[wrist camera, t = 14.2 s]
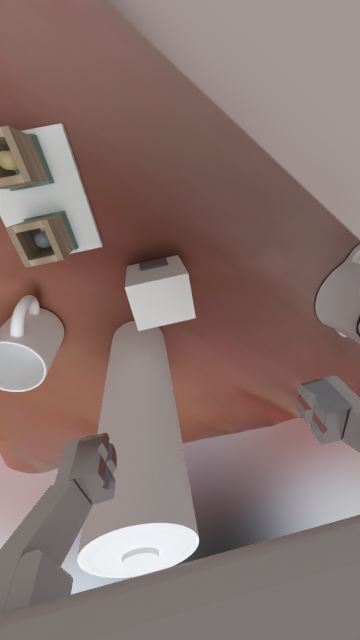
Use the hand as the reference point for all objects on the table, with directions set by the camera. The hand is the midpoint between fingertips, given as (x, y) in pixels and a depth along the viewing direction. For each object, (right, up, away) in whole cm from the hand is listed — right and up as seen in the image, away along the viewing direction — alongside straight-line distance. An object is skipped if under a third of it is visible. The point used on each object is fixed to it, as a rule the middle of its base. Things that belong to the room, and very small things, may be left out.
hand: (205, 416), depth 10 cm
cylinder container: (-9, 0, +35) cm, 36 cm away
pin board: (-19, +20, +22) cm, 35 cm away
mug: (-24, +4, +30) cm, 38 cm away
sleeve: (-19, +22, +19) cm, 35 cm away
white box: (-5, +10, +29) cm, 32 cm away
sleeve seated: (-18, +16, +23) cm, 33 cm away
